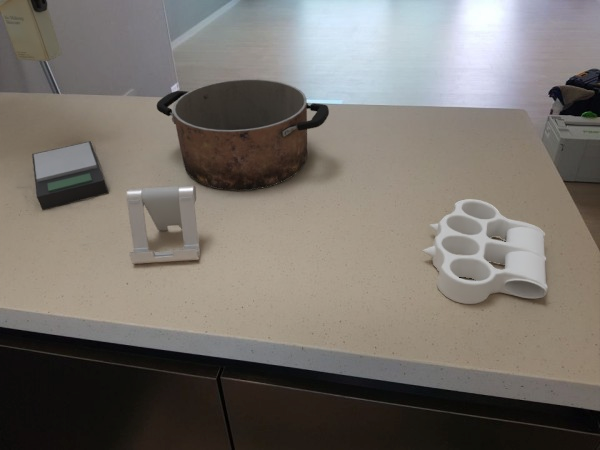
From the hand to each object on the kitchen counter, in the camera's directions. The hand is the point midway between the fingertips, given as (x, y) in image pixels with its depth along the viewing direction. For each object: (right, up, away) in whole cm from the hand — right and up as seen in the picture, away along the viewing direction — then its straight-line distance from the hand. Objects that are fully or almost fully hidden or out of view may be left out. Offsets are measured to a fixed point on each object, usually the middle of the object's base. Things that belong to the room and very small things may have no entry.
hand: (24, 10), depth 76 cm
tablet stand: (+28, -39, -12) cm, 49 cm away
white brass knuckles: (+69, -40, -16) cm, 82 cm away
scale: (+6, -28, +3) cm, 29 cm away
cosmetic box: (0, -6, +5) cm, 8 cm away
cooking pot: (+36, -24, +7) cm, 44 cm away
